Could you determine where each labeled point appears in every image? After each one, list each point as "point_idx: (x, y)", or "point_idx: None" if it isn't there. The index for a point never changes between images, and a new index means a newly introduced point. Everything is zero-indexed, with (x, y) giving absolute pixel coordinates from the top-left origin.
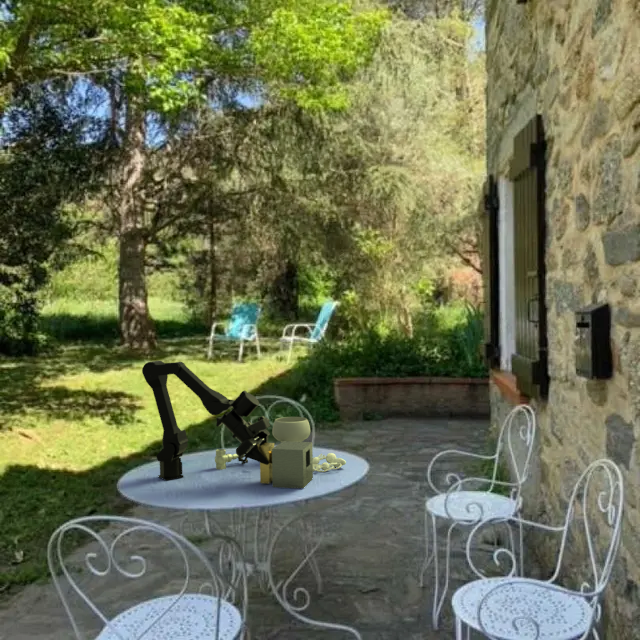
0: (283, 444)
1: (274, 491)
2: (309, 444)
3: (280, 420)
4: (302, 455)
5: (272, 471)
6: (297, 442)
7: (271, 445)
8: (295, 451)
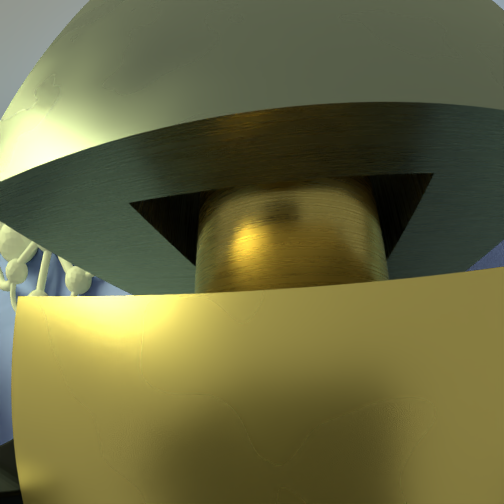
0: (182, 54)
1: (488, 254)
2: None
3: None
4: None
5: (470, 265)
6: (78, 30)
7: (272, 296)
8: None
